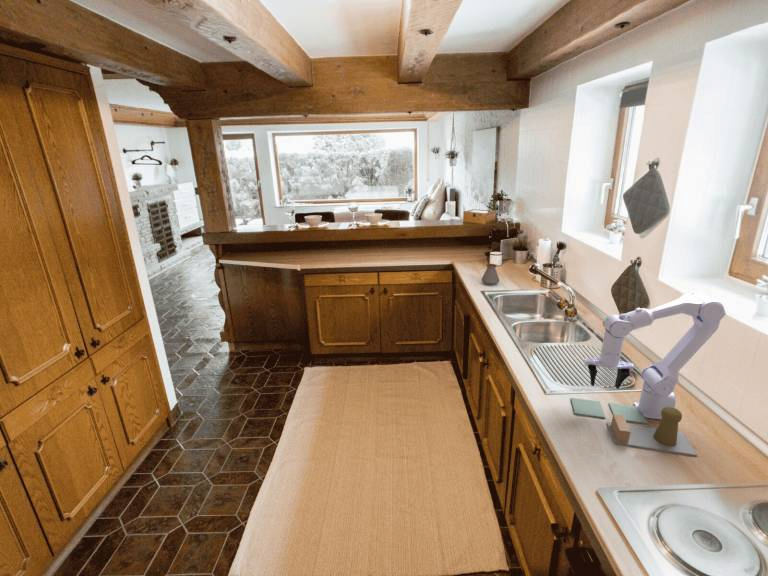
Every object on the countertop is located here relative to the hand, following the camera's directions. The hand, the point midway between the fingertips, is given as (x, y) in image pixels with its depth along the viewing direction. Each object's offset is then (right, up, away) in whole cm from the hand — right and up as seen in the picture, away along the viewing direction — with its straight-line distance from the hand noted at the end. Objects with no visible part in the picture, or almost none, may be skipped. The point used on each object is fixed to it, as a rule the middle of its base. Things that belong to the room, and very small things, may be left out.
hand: (604, 385), depth 138 cm
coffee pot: (-5, +38, +132) cm, 138 cm away
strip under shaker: (+8, -14, -11) cm, 20 cm away
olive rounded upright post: (+12, -14, -13) cm, 22 cm away
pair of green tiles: (+2, -9, +2) cm, 10 cm away
